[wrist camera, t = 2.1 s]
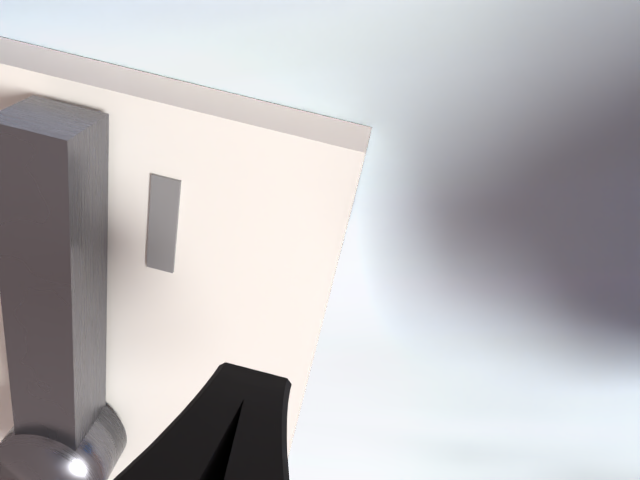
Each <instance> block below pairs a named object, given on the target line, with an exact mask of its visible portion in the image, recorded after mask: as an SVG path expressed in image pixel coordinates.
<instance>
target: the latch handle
mask: <svg viewBox="0 0 640 480" xmlns="http://www.w3.org/2000/svg"><path fill="white" fill-rule="evenodd" d="M108 162H109V114H108V113H104V112H100V111H96V110H92V109H87V108H83V107H79V106H75V105H71V104H67V103H63V102H59V101H55V100H51V99H47V98H43V97H39V96H35V95H32V96H30V97H28V98H26V99H24V100H22V101H20V102H18V103H15V104H13V105H11V106H9V107H7V108H5V109H3V110H1V111H0V297H1V307H2V316H3V326H4V336H5V345H6V355H7V364H8V374H9V383H10V393H11V402H12V412H13V421H14V426H13V427H12V428H11V430H10V431H9V432H8V433H7V435H6V436H5V437H4V438H3V440H2V441H1V442H0V480H108V478H109V476H110V474H111V472H112V471H113V469H114V467H115V465H116V463H117V462H118V460H119V458H120V456H121V454H122V453H123V451H124V449H125V447H126V443H127V435H126V431H125V428H124V426H123V424H122V422H121V420H120V419H119V418H118V416H117V415H116V414H115V413H114V412H113V411H112V410H111V409H110V408H109V407H108V406H106V333H107V248H108Z"/></svg>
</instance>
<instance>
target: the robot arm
mask: <svg viewBox="0 0 640 480" xmlns="http://www.w3.org/2000/svg"><path fill="white" fill-rule="evenodd" d="M291 385H292V384H291V383H290V381H289V380H288V378H285V377H281V376H277V375H273V374H269V373H265V372H262V371H258V370H254V369H250V368H246V367H242V366H238V365H235V364H231V363H227V362H225V363H223V364H221V365H219V366H218V368H217V369H216V371H215V372H214V373H213V375H212V376H211V377H210V379H209V380H208V381H207V383H206V384H205V385H204V386H203V388H202V389H201V390H200V391H199V392H198V394H197V395H196V396H195V397H194V398H193V400H192V401H191V402H190V403H189V404H188V405H187V406H186V407H185V409H184V410H183V411H182V412H181V413H180V414H179V415H178V416H177V417H176V418H175V419H174V420H173V422H172V423H171V424H170V425H169V426H168V427H167V428H166V429H165V430H164V431H163V432H162V433H161V434H160V435H159V436H158V437H157V438H156V439H155V440H154V441H153V442H152V443H151V444H150V445H149V446H148V447H147V448H146V449H145V450H144V451H143V452H142V453H141V454H140V455H139V456H138V457H137V458H136V459H134V460H133V461H132V462H131V463H130V464H129V465H128V466H127V467H126V468H125V469H124V470H123V471H122V472H121V473H120V474H118V475H117V476H116V477H115V478H114V479H113V480H289V470H288V456H287V412H288V401H289V394H290V389H291Z"/></svg>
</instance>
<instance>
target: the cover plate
mask: <svg viewBox="0 0 640 480" xmlns="http://www.w3.org/2000/svg"><path fill="white" fill-rule="evenodd" d="M32 95H35V96H39V97H43V98H47V99H51V100H55V101H59V102H63V103H67V104H71V105H75V106H79V107H83V108H87V109H92V110H96V111H100V112H104V113H108V114H109V162H108V248H107V333H106V406H108V407H109V408H110V409H111V410H112V411H113V412H114V413H115V414H116V415H117V416H118V418H119V419H120V420H121V422H122V424H123V426H124V428H125V431H126V435H127V443H126V447H125V449H124V451H123V453H122V454H121V456H120V458H119V460H118V462H117V463H116V465H115V467H114V469H113V471H112V472H111V474H110V476H109V478H108V480H113V479H114V478H115V477H116V476H117V475H118V474H120V473H121V472H122V471H123V470H124V469H125V468H126V467H127V466H128V465H129V464H130V463H131V462H132V461H133V460H134V459H136V458H137V457H138V456H139V455H140V454H141V453H142V452H143V451H144V450H145V449H146V448H147V447H148V446H149V445H150V444H151V443H152V442H153V441H154V440H155V439H156V438H157V437H158V436H159V435H160V434H161V433H162V432H163V431H164V430H165V429H166V428H167V427H168V426H169V425H170V424H171V423H172V422H173V420H174V419H175V418H176V417H177V416H178V415H179V414H180V413H181V412H182V411H183V410H184V409H185V407H186V406H187V405H188V404H189V403H190V402H191V401H192V400H193V398H194V397H195V396H196V395H197V394H198V392H199V391H200V390H201V389H202V388H203V386H204V385H205V384H206V383H207V381H208V380H209V379H210V377H211V376H212V375H213V373H214V372H215V371H216V369H217V368H218V366H219V365H221V364H223V363H225V362H227V363H231V364H235V365H238V366H242V367H246V368H250V369H254V370H258V371H262V372H265V373H269V374H273V375H277V376H281V377H285V378H288V380H289V381H290V383H291V384H292V385H291V389H290V394H289V401H288V412H287V456H289V452H290V448H291V444H292V440H293V437H294V433H295V429H296V425H297V421H298V417H299V413H300V409H301V405H302V401H303V397H304V393H305V390H306V386H307V382H308V378H309V374H310V370H311V366H312V362H313V358H314V354H315V350H316V346H317V343H318V339H319V335H320V331H321V327H322V323H323V319H324V315H325V311H326V307H327V303H328V299H329V296H330V292H331V288H332V284H333V280H334V276H335V272H336V268H337V264H338V260H339V256H340V252H341V248H342V245H343V241H344V237H345V233H346V229H347V225H348V221H349V217H350V213H351V209H352V205H353V201H354V198H355V194H356V190H357V186H358V182H359V178H360V174H361V170H362V166H363V162H364V158H365V154H366V150H367V146H368V142H369V138H370V133H371V129H372V127H368V126H364V125H360V124H356V123H352V122H347V121H343V120H339V119H335V118H331V117H327V116H323V115H319V114H315V113H311V112H307V111H302V110H298V109H294V108H290V107H286V106H282V105H278V104H274V103H270V102H266V101H261V100H257V99H253V98H249V97H245V96H241V95H237V94H233V93H229V92H225V91H221V90H216V89H212V88H208V87H204V86H200V85H196V84H192V83H188V82H184V81H180V80H175V79H171V78H167V77H163V76H159V75H155V74H151V73H147V72H143V71H139V70H135V69H130V68H126V67H122V66H118V65H114V64H110V63H106V62H102V61H98V60H94V59H89V58H85V57H81V56H77V55H73V54H69V53H65V52H61V51H57V50H53V49H48V48H44V47H40V46H36V45H32V44H28V43H24V42H20V41H16V40H12V39H8V38H3V37H0V111H1V110H3V109H5V108H7V107H9V106H11V105H13V104H15V103H18V102H20V101H22V100H24V99H26V98H28V97H30V96H32ZM13 426H14V421H13V412H12V402H11V393H10V383H9V374H8V364H7V355H6V345H5V336H4V326H3V316H2V307H1V297H0V442H1V441H2V440H3V438H4V437H5V436H6V435H7V433H8V432H9V431H10V430H11V428H12V427H13Z"/></svg>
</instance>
